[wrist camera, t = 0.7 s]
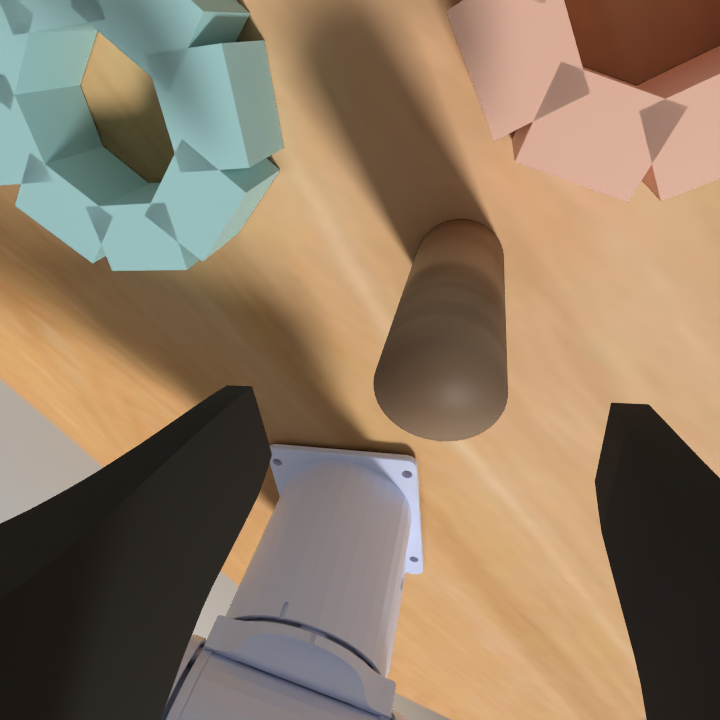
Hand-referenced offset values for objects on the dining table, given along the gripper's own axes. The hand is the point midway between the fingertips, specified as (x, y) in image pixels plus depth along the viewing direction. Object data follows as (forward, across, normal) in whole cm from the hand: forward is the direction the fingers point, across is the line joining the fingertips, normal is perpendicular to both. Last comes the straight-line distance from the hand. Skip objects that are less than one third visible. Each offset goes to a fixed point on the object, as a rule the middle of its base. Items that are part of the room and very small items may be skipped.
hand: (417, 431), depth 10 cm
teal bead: (+10, +11, -6) cm, 16 cm away
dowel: (+10, 0, 0) cm, 10 cm away
